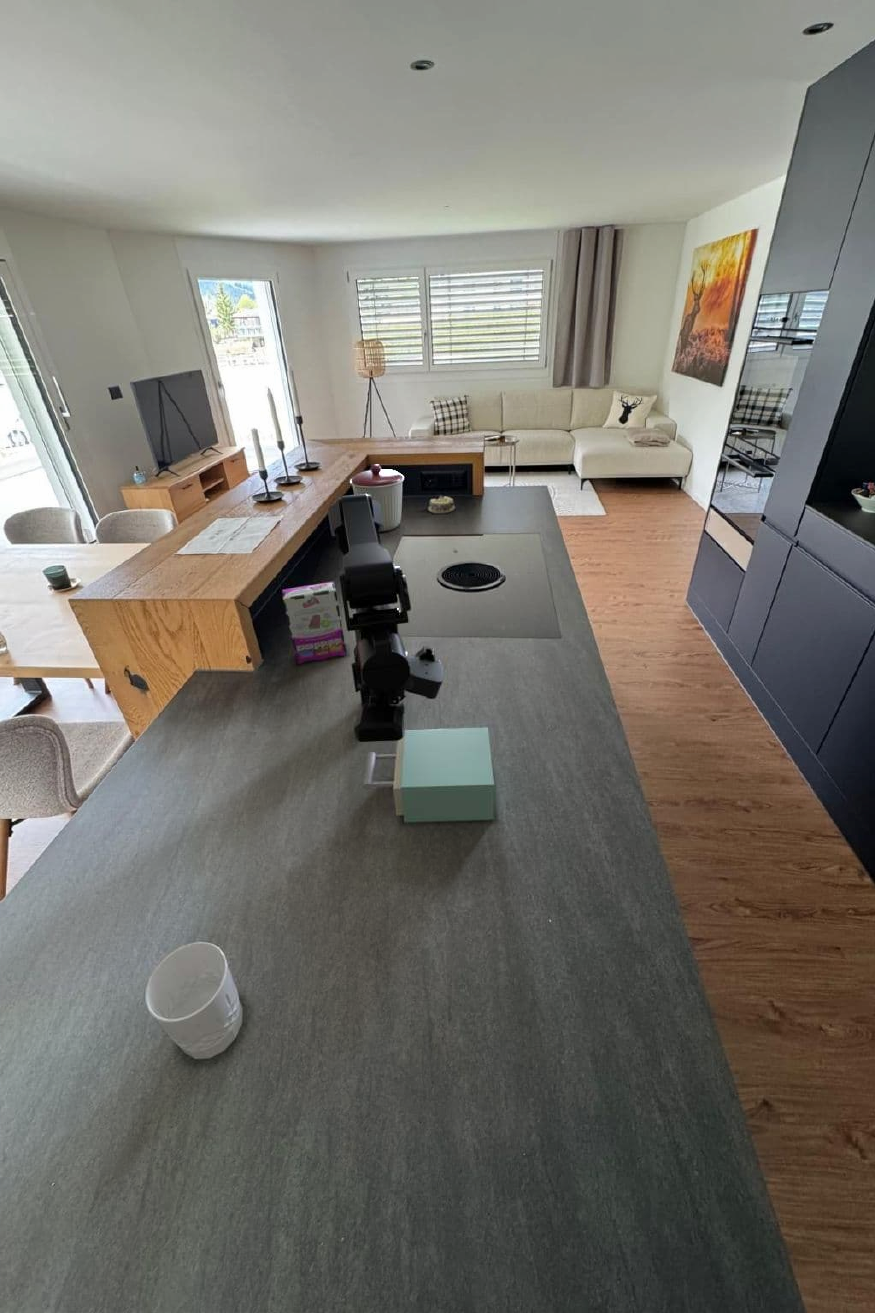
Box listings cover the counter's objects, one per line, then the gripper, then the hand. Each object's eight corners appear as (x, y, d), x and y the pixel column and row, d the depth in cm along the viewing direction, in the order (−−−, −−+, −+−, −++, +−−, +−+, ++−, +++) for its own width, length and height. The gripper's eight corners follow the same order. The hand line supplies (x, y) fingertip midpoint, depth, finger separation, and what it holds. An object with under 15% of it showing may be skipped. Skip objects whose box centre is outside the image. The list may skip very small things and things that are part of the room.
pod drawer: (364, 816, 85) (359, 790, 82) (371, 763, 94) (368, 737, 91) (478, 813, 84) (478, 786, 81) (473, 760, 94) (473, 734, 91)
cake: (460, 511, 205) (460, 496, 202) (437, 517, 201) (437, 502, 197) (445, 502, 211) (445, 488, 208) (423, 507, 207) (422, 494, 204)
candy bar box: (344, 644, 129) (334, 580, 120) (347, 655, 125) (337, 590, 116) (295, 653, 126) (281, 588, 117) (297, 665, 122) (282, 598, 113)
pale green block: (404, 822, 85) (400, 787, 81) (408, 763, 95) (404, 730, 91) (493, 819, 84) (494, 784, 80) (487, 761, 95) (487, 727, 91)
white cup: (256, 986, 65) (235, 939, 60) (238, 1064, 59) (213, 1019, 53) (189, 990, 65) (162, 944, 60) (163, 1068, 59) (131, 1024, 53)
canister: (417, 522, 195) (413, 460, 184) (387, 539, 183) (381, 474, 171) (376, 514, 204) (370, 455, 192) (345, 530, 191) (336, 468, 179)
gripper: (438, 687, 67) (443, 780, 75) (438, 613, 83) (442, 696, 91) (346, 691, 67) (361, 782, 76) (363, 615, 83) (374, 698, 91)
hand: (389, 736), depth 83 cm, fingers closed
